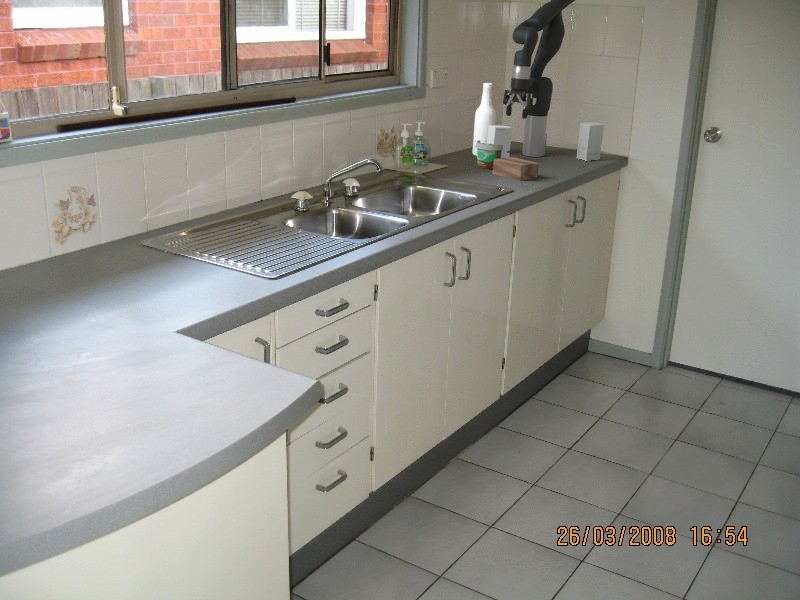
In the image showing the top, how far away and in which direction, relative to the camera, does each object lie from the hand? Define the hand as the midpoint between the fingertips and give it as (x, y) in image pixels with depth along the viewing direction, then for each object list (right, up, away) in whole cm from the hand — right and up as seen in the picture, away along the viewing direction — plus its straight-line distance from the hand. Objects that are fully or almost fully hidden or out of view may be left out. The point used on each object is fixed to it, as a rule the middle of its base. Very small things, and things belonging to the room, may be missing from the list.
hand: (516, 117), depth 365 cm
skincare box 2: (+32, -16, +10) cm, 37 cm away
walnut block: (-4, -29, -28) cm, 40 cm away
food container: (-15, -24, -17) cm, 33 cm away
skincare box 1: (-8, -20, -4) cm, 22 cm away
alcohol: (-13, -15, +9) cm, 22 cm away
